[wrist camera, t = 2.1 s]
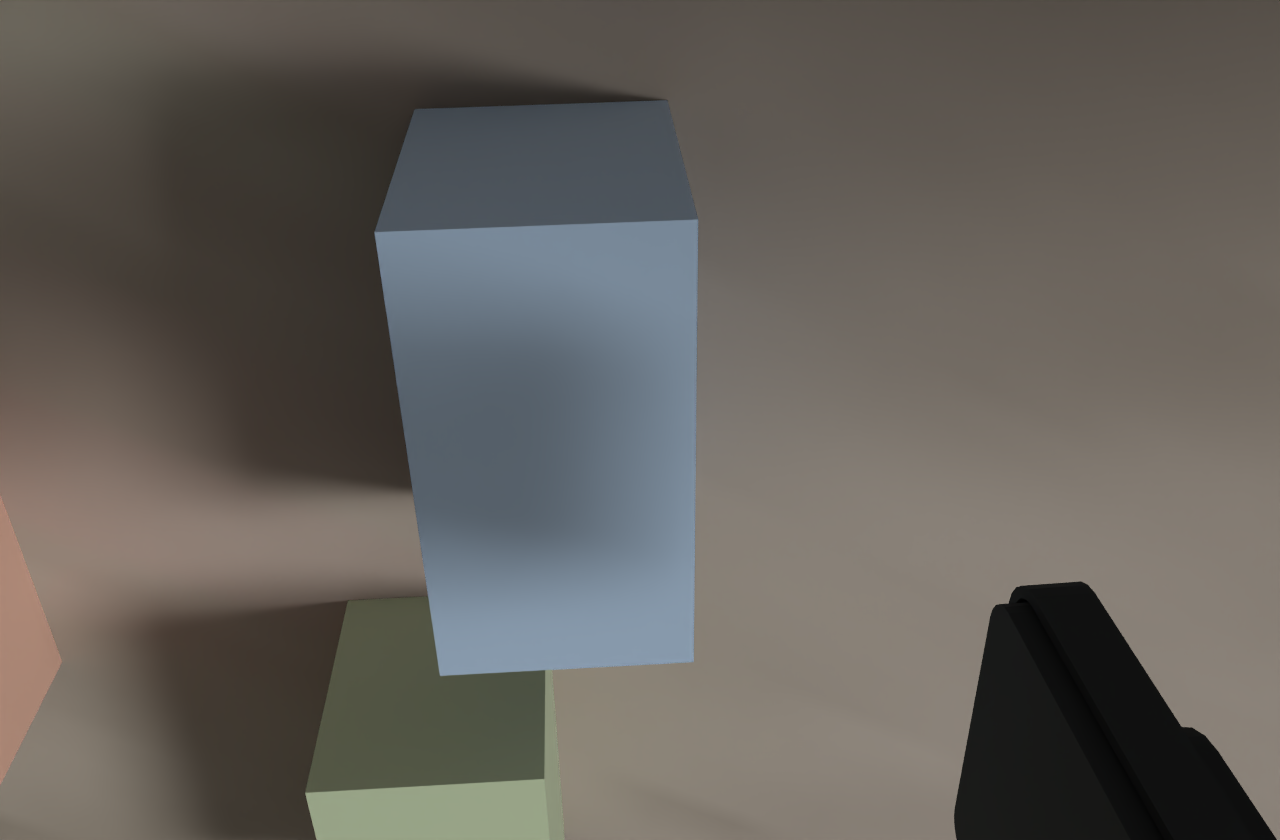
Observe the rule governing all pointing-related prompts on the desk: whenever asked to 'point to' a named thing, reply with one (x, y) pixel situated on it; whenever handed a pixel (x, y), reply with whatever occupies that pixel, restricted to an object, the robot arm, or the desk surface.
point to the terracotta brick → (20, 647)
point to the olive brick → (430, 740)
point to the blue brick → (548, 380)
